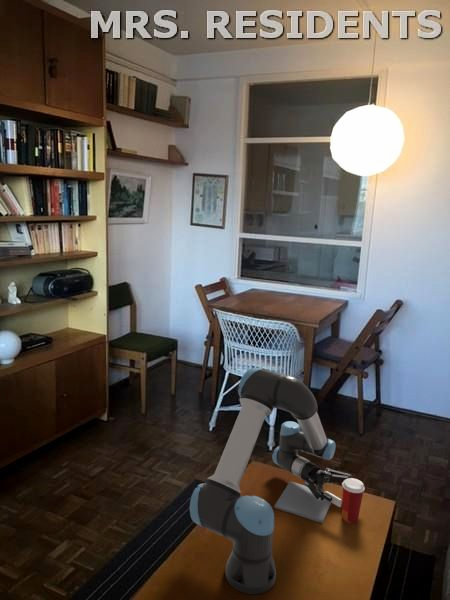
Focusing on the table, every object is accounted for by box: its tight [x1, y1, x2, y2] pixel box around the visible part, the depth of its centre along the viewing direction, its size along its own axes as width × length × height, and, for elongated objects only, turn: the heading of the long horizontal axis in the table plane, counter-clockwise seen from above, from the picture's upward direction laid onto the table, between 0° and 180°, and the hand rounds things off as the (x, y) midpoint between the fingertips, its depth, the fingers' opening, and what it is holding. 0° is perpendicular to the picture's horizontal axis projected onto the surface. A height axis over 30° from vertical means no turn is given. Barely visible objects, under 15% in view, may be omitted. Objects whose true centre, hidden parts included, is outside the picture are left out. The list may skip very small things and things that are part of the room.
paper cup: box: [341, 477, 365, 524], centre depth 175 cm, size 8×8×14 cm
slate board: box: [273, 480, 336, 524], centre depth 184 cm, size 18×18×1 cm
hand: (352, 496), depth 175 cm, fingers open, 13 cm apart
